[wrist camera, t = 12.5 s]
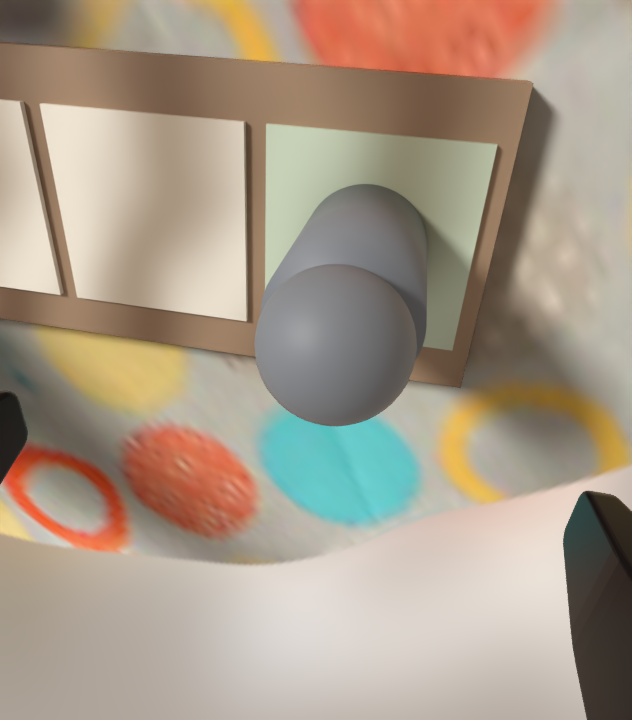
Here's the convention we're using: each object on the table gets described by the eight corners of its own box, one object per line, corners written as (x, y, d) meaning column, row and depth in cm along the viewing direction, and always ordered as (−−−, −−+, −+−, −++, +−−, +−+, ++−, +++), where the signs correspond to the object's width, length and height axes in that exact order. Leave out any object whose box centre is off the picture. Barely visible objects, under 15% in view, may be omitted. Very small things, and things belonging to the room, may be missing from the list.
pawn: (302, 294, 19) (226, 450, 12) (307, 177, 17) (220, 283, 10) (416, 309, 18) (408, 482, 11) (438, 191, 16) (443, 313, 9)
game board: (-70, 295, 24) (-93, 306, 23) (-164, 29, 18) (-199, 28, 17) (459, 373, 21) (460, 390, 20) (528, 80, 15) (534, 83, 14)
